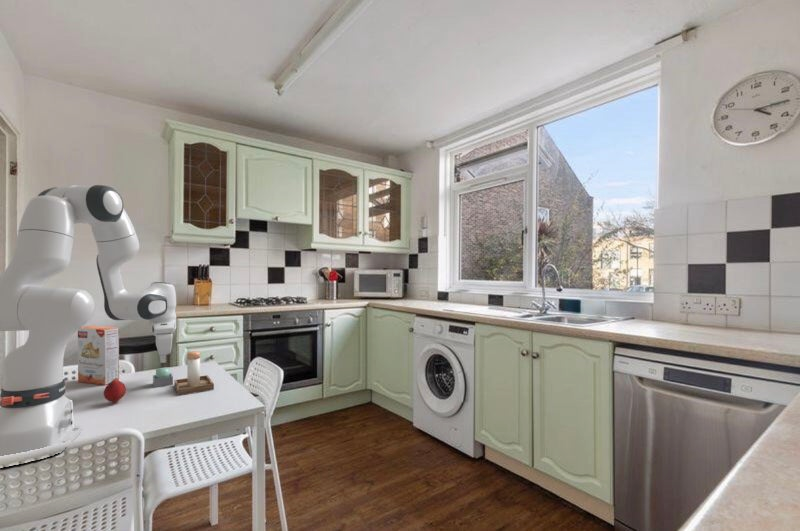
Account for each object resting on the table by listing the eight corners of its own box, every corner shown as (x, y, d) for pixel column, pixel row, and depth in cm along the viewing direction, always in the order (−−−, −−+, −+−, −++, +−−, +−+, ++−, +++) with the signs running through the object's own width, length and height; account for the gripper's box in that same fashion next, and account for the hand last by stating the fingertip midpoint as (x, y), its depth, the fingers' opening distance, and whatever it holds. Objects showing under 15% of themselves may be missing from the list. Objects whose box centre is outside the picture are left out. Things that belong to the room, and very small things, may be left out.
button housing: (172, 384, 143) (172, 376, 143) (153, 387, 140) (153, 379, 140) (171, 380, 148) (171, 372, 148) (152, 383, 145) (152, 375, 145)
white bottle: (200, 385, 140) (201, 352, 140) (187, 387, 137) (188, 354, 137) (199, 382, 143) (199, 350, 143) (186, 384, 141) (186, 352, 141)
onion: (114, 406, 121) (114, 381, 121) (99, 405, 122) (99, 380, 122) (130, 400, 127) (130, 376, 127) (115, 399, 128) (115, 375, 128)
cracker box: (76, 382, 146) (76, 327, 146) (93, 378, 152) (93, 324, 151) (103, 386, 142) (103, 329, 142) (119, 381, 147) (119, 326, 147)
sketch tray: (213, 389, 138) (213, 383, 138) (177, 395, 132) (177, 389, 132) (207, 380, 149) (207, 375, 149) (174, 385, 142) (174, 380, 142)
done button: (170, 380, 144) (170, 369, 144) (156, 382, 141) (156, 371, 141) (169, 377, 147) (169, 366, 147) (155, 379, 145) (155, 368, 145)
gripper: (151, 322, 151) (151, 357, 151) (154, 330, 134) (154, 369, 134) (170, 320, 154) (170, 355, 155) (175, 328, 138) (175, 366, 138)
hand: (162, 362), depth 144 cm, fingers closed
